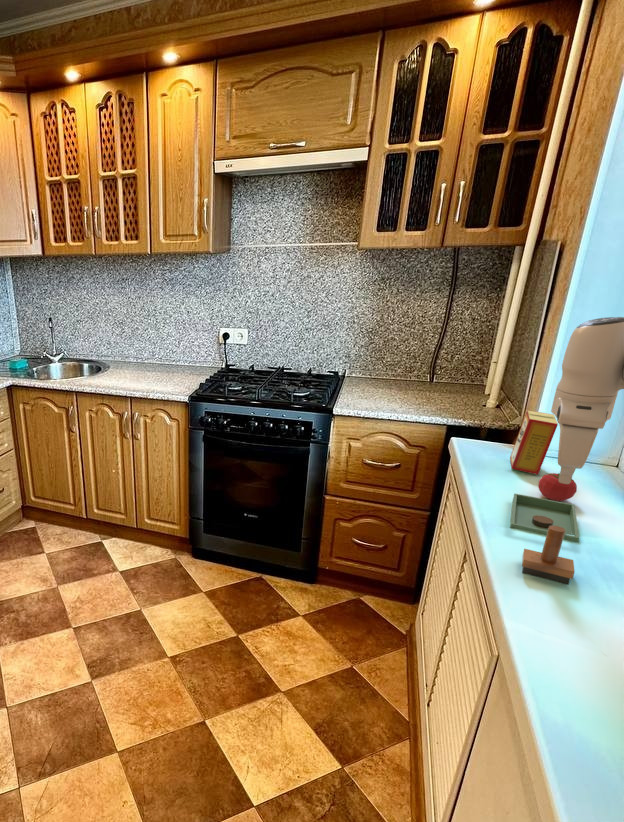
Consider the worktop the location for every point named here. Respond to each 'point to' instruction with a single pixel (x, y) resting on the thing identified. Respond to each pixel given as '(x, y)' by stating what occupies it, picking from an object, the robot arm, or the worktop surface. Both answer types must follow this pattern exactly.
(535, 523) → the brown disc
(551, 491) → the tomato
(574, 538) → the tray
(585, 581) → the worktop surface
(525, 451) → the baking soda box
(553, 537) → the brush
